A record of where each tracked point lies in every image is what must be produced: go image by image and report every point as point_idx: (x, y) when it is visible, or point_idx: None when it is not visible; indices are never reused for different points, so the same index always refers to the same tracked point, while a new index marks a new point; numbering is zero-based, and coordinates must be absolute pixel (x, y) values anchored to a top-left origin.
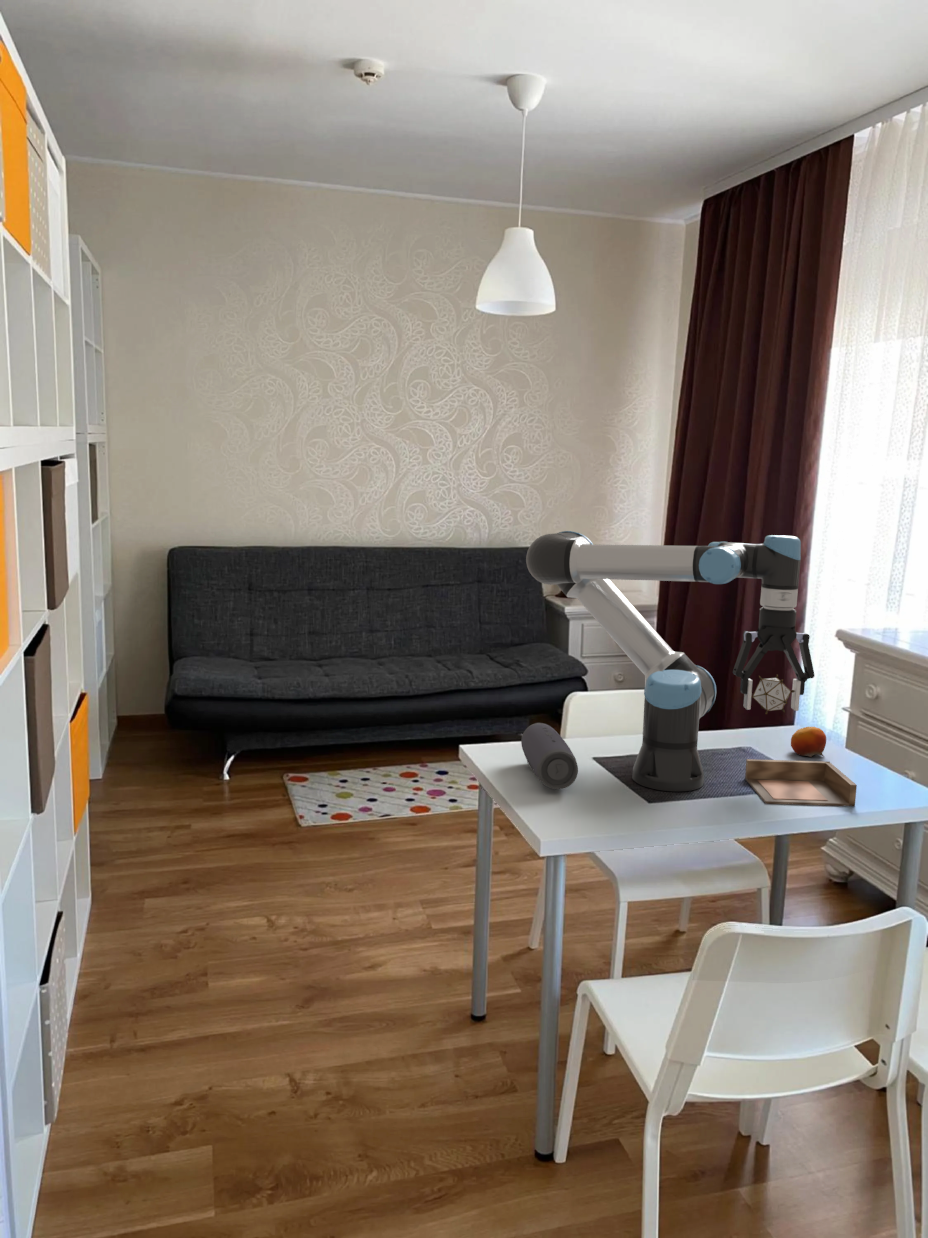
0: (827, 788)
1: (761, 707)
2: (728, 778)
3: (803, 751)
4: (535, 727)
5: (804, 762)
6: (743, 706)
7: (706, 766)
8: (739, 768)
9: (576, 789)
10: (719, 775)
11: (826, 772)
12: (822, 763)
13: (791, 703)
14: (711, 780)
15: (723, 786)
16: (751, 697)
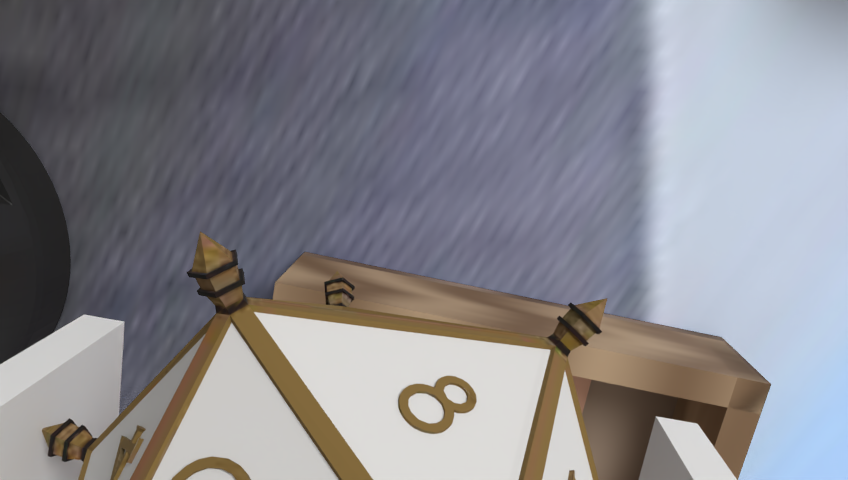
0: (630, 467)
1: (328, 300)
2: (224, 229)
3: None
4: None
5: (603, 381)
6: (82, 318)
7: (177, 10)
8: (354, 66)
9: None
10: (195, 177)
11: (702, 408)
12: (708, 403)
13: (670, 457)
14: (126, 250)
15: (155, 341)
16: (75, 452)
